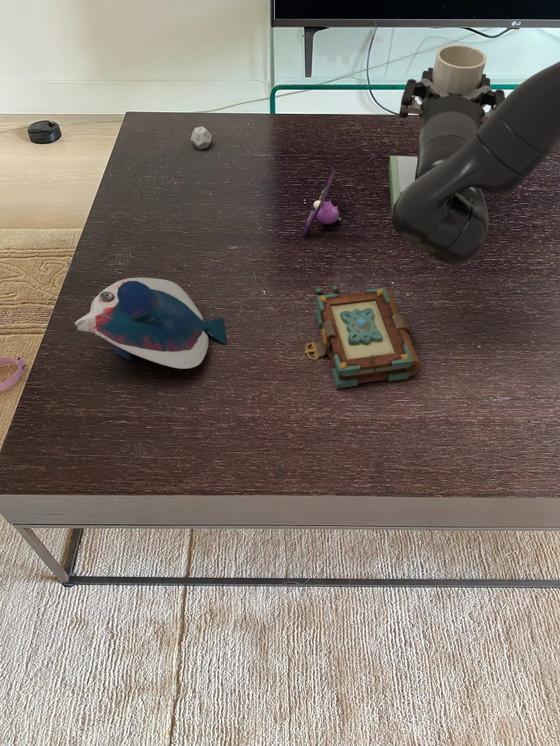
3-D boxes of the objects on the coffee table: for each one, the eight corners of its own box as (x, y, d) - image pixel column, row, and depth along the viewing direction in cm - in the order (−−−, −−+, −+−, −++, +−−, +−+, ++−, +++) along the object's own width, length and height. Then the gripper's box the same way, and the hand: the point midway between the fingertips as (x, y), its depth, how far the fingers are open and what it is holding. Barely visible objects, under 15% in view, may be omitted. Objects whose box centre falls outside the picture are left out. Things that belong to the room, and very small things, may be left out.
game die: (214, 141, 110) (213, 125, 107) (208, 152, 107) (206, 137, 105) (195, 138, 110) (193, 122, 108) (189, 150, 108) (187, 134, 106)
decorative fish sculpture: (88, 314, 65) (88, 221, 74) (61, 384, 73) (64, 293, 82) (254, 346, 74) (237, 260, 83) (214, 404, 82) (202, 320, 91)
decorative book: (381, 282, 88) (386, 255, 84) (419, 379, 78) (427, 354, 74) (289, 293, 87) (290, 266, 83) (315, 394, 76) (317, 369, 72)
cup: (476, 123, 92) (495, 55, 84) (452, 142, 89) (470, 73, 81) (438, 107, 95) (453, 40, 87) (414, 125, 92) (427, 57, 84)
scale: (465, 169, 105) (469, 155, 103) (475, 218, 97) (479, 204, 95) (388, 165, 105) (390, 152, 103) (391, 214, 98) (394, 200, 96)
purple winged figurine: (329, 166, 94) (314, 202, 89) (359, 181, 94) (347, 218, 89) (312, 198, 99) (298, 234, 94) (341, 213, 100) (329, 249, 95)
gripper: (515, 120, 75) (514, 55, 85) (396, 105, 76) (409, 44, 86) (498, 174, 81) (499, 108, 90) (387, 159, 82) (400, 96, 92)
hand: (455, 77), depth 88 cm, fingers closed on cup, 6 cm apart
